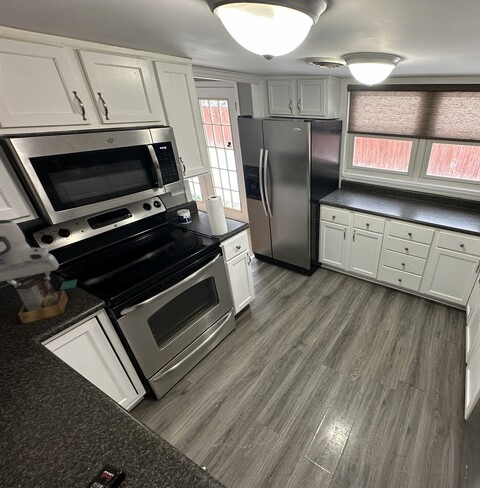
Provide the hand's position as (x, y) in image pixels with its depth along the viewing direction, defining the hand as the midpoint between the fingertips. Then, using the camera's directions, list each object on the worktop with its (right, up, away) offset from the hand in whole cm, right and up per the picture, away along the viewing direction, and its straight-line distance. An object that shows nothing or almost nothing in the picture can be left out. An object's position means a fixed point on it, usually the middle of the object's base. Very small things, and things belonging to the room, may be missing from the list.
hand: (33, 283), depth 117 cm
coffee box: (-1, -14, +6) cm, 15 cm away
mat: (-8, -5, +25) cm, 26 cm away
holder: (-1, -14, +6) cm, 15 cm away
